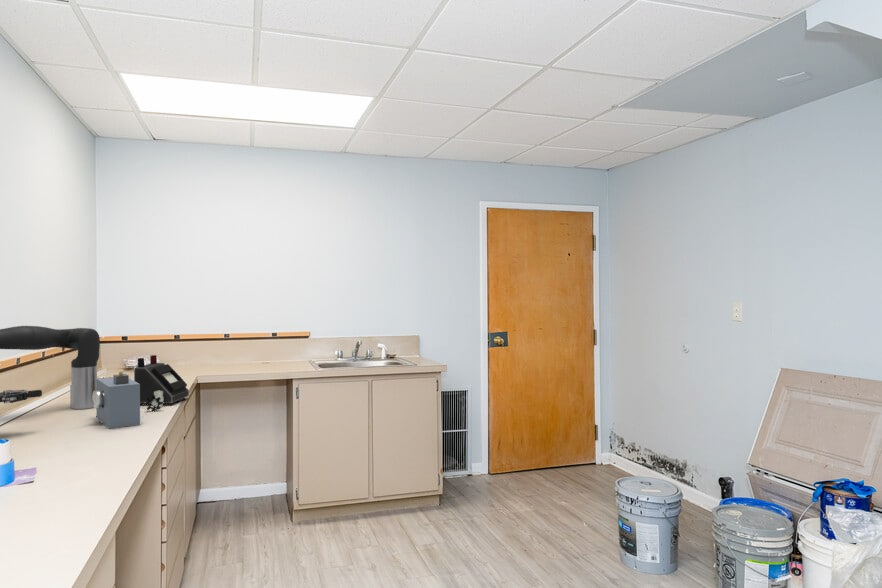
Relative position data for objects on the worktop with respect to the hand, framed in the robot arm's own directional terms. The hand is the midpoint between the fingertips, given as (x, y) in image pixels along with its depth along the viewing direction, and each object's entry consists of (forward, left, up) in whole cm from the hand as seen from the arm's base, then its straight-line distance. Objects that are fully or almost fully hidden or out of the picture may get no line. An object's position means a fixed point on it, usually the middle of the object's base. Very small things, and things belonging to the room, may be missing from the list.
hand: (41, 392), depth 204 cm
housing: (+10, +21, -13) cm, 27 cm away
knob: (+9, +19, -8) cm, 22 cm away
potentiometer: (+15, +19, +2) cm, 25 cm away
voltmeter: (-6, +54, -14) cm, 56 cm away
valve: (+4, +44, -14) cm, 46 cm away
